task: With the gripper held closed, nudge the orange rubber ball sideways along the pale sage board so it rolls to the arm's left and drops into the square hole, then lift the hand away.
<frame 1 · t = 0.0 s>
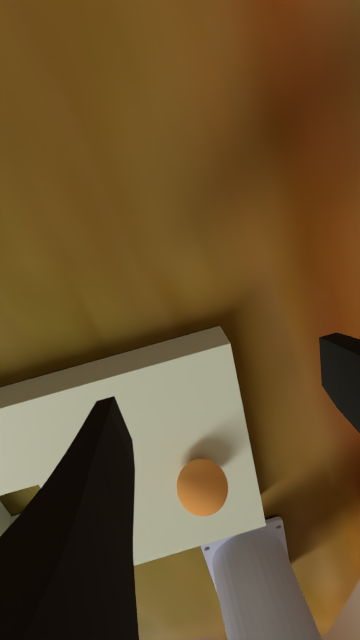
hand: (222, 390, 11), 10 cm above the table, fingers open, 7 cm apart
ball: (202, 486, 21), point 4 cm above the table, touching deck
deck: (91, 468, 25), on the table
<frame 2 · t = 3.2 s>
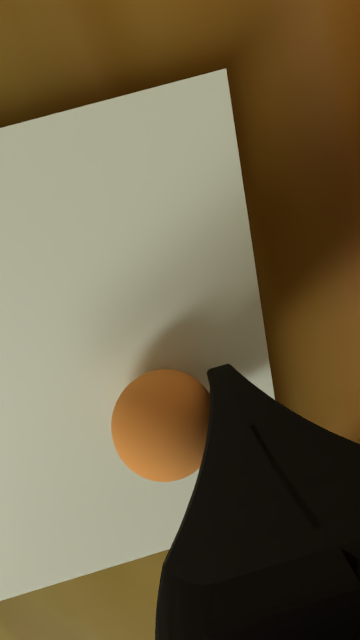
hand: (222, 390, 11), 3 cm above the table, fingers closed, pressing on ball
ball: (165, 422, 10), point 4 cm above the table, tilted 6°, touching deck, gripper
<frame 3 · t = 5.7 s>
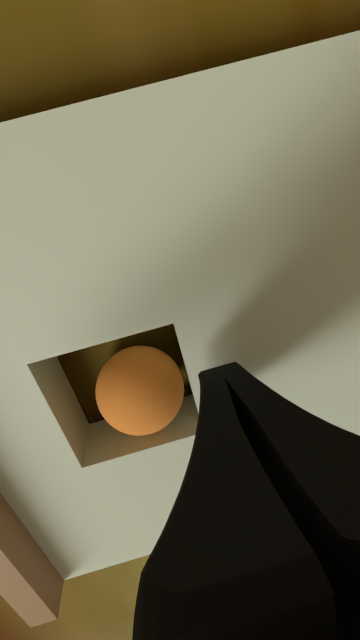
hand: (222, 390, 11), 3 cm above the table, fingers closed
ball: (140, 389, 13), point 2 cm above the table, tilted 43°
deck: (235, 334, 14), on the table
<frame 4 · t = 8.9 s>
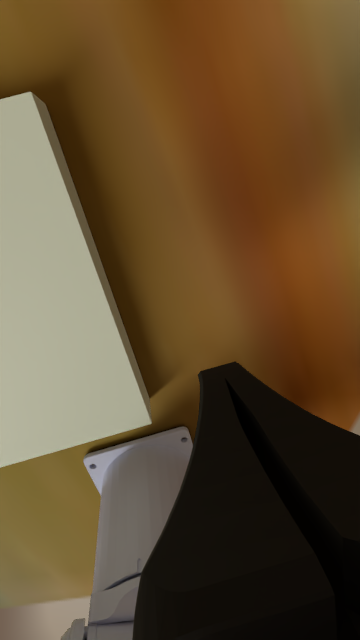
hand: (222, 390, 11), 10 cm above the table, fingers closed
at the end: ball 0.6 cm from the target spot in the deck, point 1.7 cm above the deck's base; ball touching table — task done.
